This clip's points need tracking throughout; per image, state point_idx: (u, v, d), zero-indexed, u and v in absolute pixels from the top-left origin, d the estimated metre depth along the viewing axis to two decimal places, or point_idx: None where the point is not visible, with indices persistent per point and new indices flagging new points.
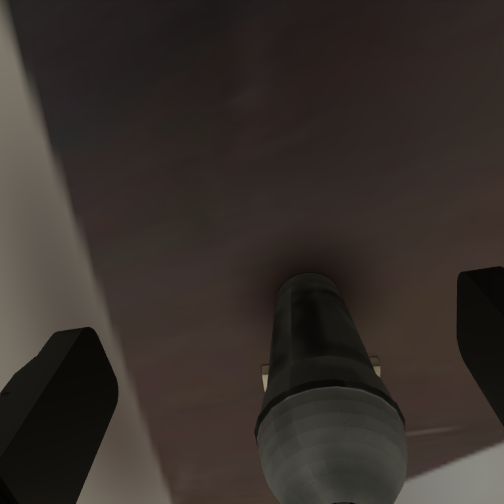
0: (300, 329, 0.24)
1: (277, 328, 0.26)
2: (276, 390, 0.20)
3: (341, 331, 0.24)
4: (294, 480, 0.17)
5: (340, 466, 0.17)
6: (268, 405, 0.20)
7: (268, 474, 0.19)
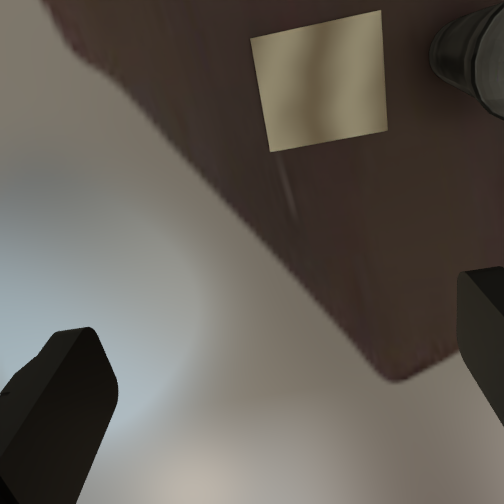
0: None
1: None
2: None
3: None
4: None
5: None
6: None
7: None
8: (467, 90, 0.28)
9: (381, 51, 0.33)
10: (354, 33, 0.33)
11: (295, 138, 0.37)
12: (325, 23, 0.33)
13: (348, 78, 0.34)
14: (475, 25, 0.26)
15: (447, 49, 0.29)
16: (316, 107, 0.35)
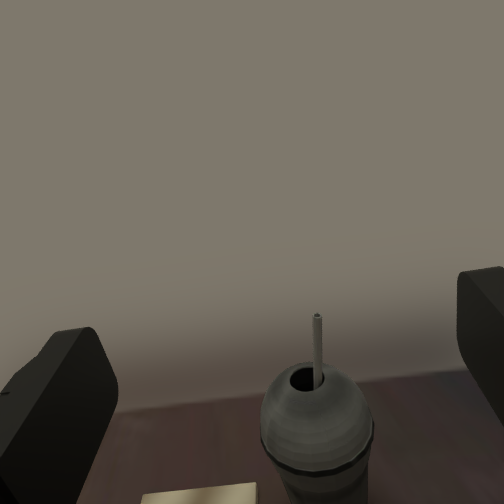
0: None
1: None
2: None
3: (365, 486, 0.28)
4: (327, 364, 0.27)
5: (345, 383, 0.26)
6: None
7: None
8: (288, 488, 0.28)
9: None
10: (230, 498, 0.35)
11: None
12: (208, 488, 0.36)
13: None
14: None
15: None
16: None
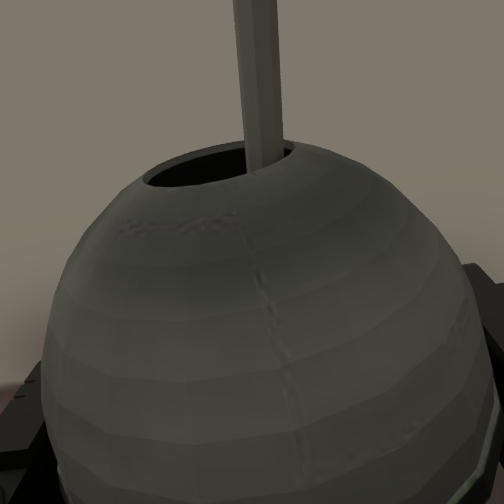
0: None
1: None
2: None
3: None
4: None
5: (385, 182, 0.06)
6: None
7: None
8: None
9: None
10: None
11: None
12: None
13: None
14: None
15: None
16: None
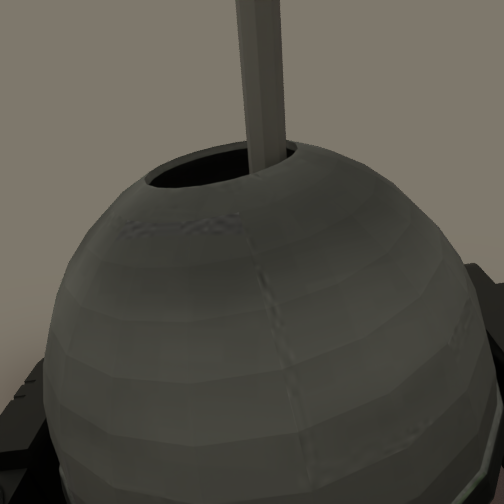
0: None
1: None
2: None
3: None
4: None
5: (387, 183, 0.06)
6: None
7: None
8: None
9: None
10: None
11: None
12: None
13: None
14: None
15: None
16: None
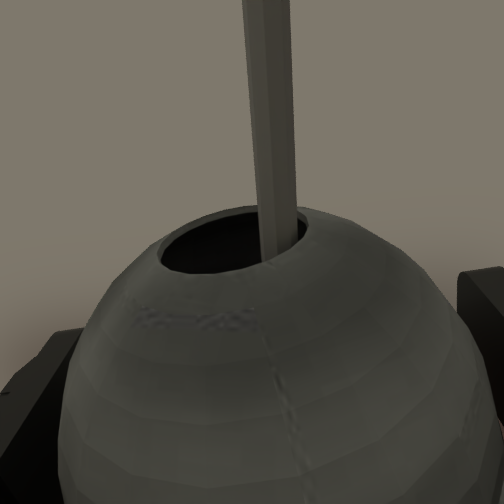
0: None
1: None
2: None
3: None
4: None
5: (397, 257, 0.06)
6: None
7: None
8: None
9: None
10: None
11: None
12: None
13: None
14: None
15: None
16: None
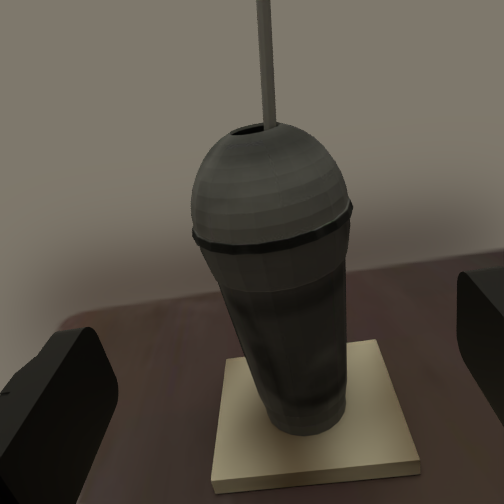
0: None
1: None
2: None
3: (341, 309, 0.20)
4: None
5: (310, 136, 0.18)
6: None
7: None
8: (232, 308, 0.20)
9: (384, 369, 0.25)
10: None
11: (257, 462, 0.21)
12: None
13: None
14: None
15: None
16: None
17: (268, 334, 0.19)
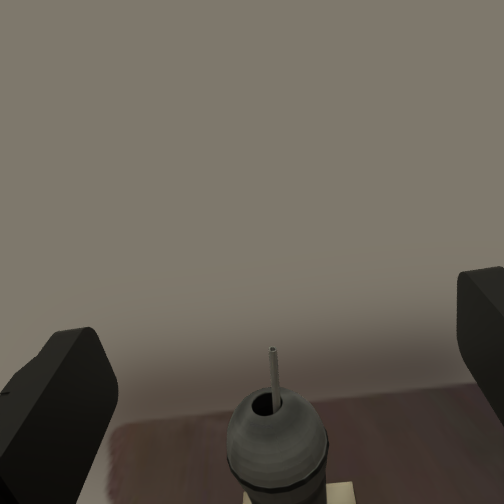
0: None
1: None
2: None
3: (322, 500, 0.31)
4: (288, 389, 0.30)
5: (301, 408, 0.28)
6: None
7: None
8: (252, 502, 0.30)
9: None
10: (330, 496, 0.38)
11: None
12: None
13: None
14: None
15: None
16: None
17: None
